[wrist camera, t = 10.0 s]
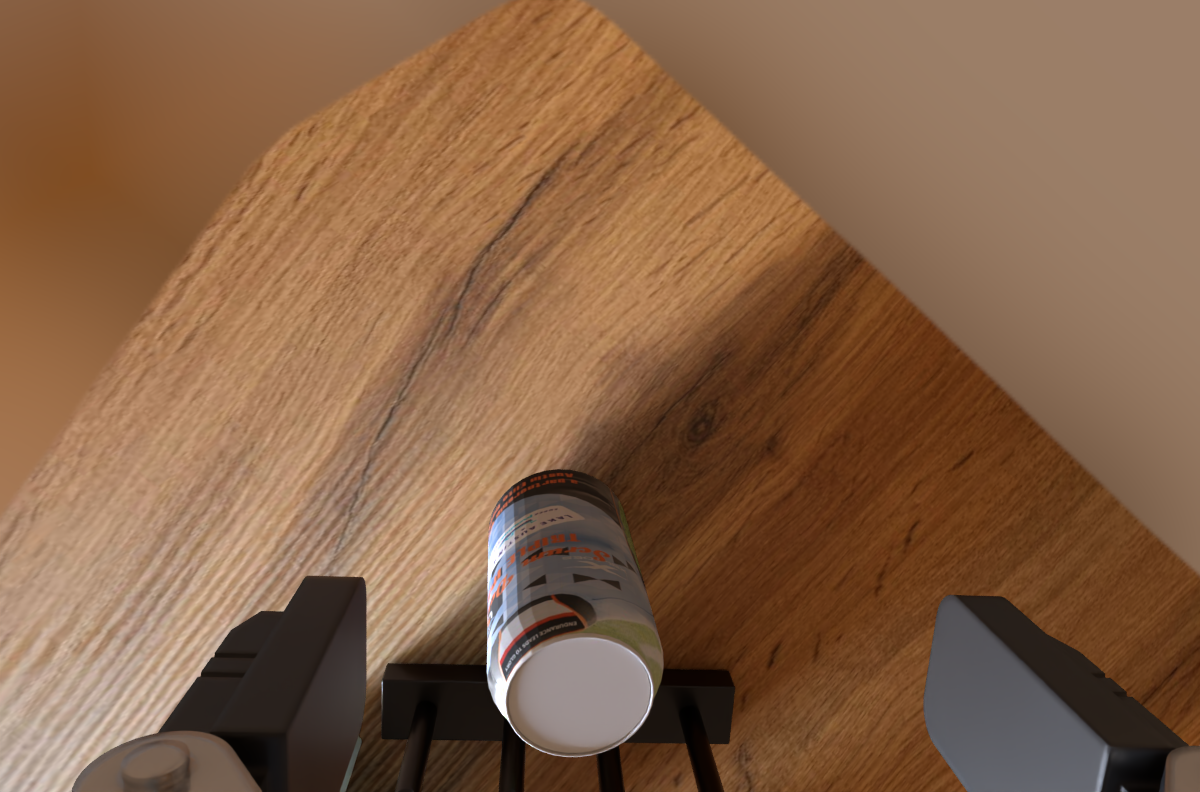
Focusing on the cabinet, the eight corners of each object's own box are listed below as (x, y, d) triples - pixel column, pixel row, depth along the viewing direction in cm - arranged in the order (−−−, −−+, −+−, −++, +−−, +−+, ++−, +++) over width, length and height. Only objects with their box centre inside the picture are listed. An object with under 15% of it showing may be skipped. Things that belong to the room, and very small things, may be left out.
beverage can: (584, 434, 38) (602, 540, 27) (661, 568, 40) (710, 723, 28) (460, 502, 39) (424, 636, 27) (542, 632, 40) (542, 811, 29)
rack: (387, 662, 40) (352, 766, 33) (728, 669, 41) (768, 771, 34) (386, 720, 41) (352, 834, 34) (723, 725, 42) (760, 837, 35)
